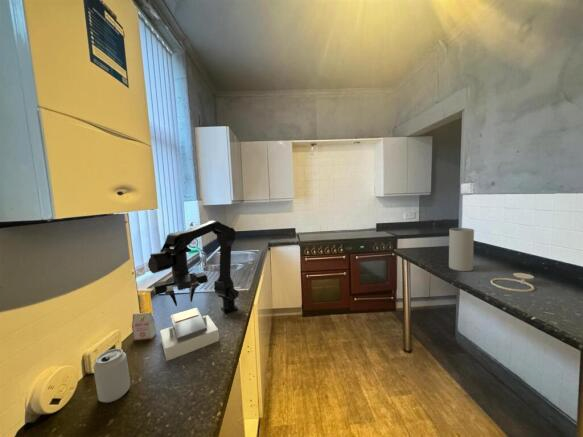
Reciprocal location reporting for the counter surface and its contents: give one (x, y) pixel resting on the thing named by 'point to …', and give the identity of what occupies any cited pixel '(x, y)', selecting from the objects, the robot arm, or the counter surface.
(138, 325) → the printed cardboard box
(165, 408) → the counter surface
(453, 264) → the cylinder vase
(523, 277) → the hand towel holder
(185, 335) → the rocker switch
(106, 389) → the can
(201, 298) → the counter surface
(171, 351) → the breaker housing
